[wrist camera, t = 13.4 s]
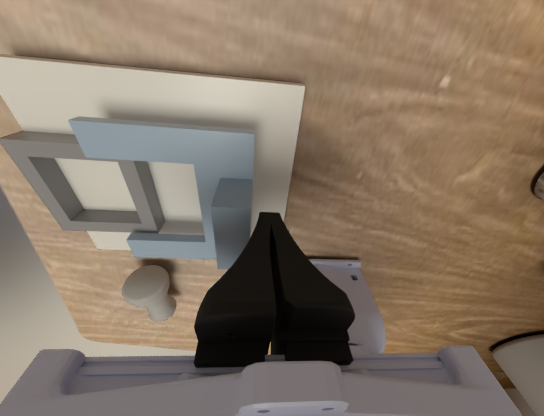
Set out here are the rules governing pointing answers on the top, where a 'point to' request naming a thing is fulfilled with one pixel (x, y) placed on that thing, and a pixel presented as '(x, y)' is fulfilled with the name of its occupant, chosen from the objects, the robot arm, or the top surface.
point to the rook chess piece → (150, 292)
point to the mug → (540, 187)
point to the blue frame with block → (208, 171)
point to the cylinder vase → (525, 368)
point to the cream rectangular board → (139, 174)
